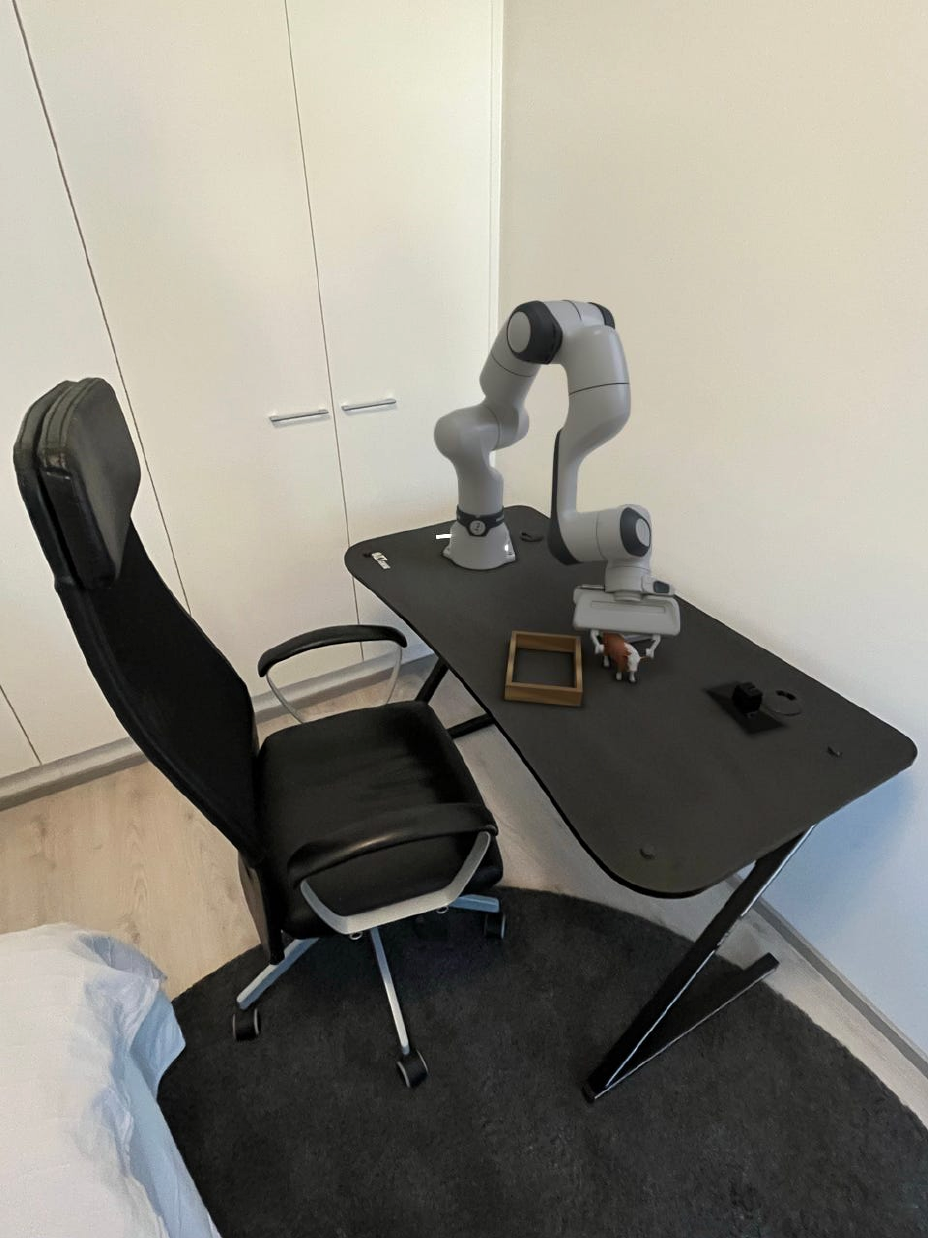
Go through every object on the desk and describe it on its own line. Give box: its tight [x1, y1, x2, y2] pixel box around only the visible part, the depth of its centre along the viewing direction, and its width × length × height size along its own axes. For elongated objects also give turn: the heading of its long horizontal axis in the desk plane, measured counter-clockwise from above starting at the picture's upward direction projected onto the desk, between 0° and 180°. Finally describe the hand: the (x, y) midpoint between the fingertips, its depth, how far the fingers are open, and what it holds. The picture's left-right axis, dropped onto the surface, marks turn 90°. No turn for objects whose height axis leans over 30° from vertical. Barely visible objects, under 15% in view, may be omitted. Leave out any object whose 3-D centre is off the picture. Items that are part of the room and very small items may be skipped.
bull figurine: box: [601, 633, 647, 683], centre depth 125 cm, size 4×13×8 cm, turn 14°
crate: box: [504, 630, 583, 707], centre depth 126 cm, size 18×14×4 cm
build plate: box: [707, 681, 784, 735], centre depth 117 cm, size 12×7×5 cm, turn 19°
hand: (623, 656), depth 124 cm, fingers open, 8 cm apart
